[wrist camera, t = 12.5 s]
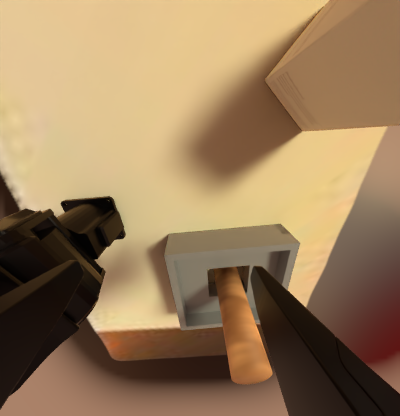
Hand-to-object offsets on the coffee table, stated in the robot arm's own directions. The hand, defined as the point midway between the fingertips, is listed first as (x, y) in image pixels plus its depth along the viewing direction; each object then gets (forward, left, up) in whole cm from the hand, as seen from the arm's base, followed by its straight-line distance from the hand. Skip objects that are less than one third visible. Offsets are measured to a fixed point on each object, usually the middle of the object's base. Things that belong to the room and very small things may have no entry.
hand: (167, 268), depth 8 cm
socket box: (+6, -15, -13) cm, 21 cm away
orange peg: (+6, -15, -13) cm, 21 cm away
